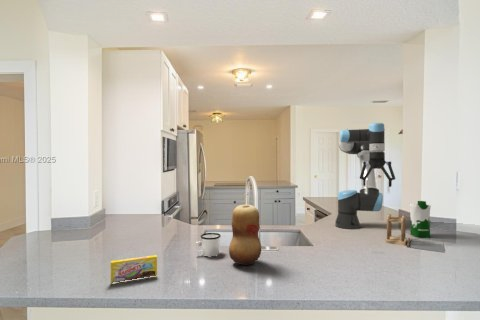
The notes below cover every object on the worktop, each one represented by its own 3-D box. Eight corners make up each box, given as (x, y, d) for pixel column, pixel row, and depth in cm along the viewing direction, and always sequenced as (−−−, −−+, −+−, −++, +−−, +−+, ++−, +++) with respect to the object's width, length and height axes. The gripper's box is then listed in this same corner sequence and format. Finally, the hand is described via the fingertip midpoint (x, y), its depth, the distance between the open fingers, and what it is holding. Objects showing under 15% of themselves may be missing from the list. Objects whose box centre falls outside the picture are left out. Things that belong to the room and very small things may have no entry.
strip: (406, 247, 140) (406, 244, 140) (408, 240, 152) (408, 238, 152) (408, 247, 140) (408, 245, 140) (410, 240, 152) (410, 238, 152)
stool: (385, 242, 148) (385, 216, 148) (387, 238, 155) (387, 213, 155) (405, 245, 143) (405, 218, 143) (406, 241, 150) (406, 215, 150)
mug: (217, 250, 139) (217, 231, 139) (223, 256, 130) (223, 236, 130) (193, 253, 135) (193, 234, 135) (197, 259, 126) (197, 239, 126)
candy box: (110, 285, 101) (110, 262, 101) (110, 283, 103) (110, 260, 103) (157, 277, 108) (157, 256, 107) (156, 275, 109) (156, 254, 109)
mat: (409, 247, 140) (409, 247, 140) (411, 240, 151) (411, 240, 151) (444, 252, 132) (444, 252, 132) (443, 244, 143) (443, 244, 143)
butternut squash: (238, 272, 111) (237, 209, 111) (224, 261, 123) (223, 204, 123) (267, 266, 118) (267, 206, 117) (251, 256, 129) (251, 201, 129)
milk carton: (415, 238, 156) (415, 202, 156) (407, 233, 165) (407, 199, 165) (432, 238, 155) (432, 202, 155) (423, 234, 164) (423, 199, 164)
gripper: (353, 152, 157) (353, 191, 157) (400, 151, 145) (400, 194, 145) (356, 152, 163) (356, 190, 164) (401, 151, 151) (401, 192, 151)
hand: (377, 192), depth 154 cm, fingers open, 10 cm apart
